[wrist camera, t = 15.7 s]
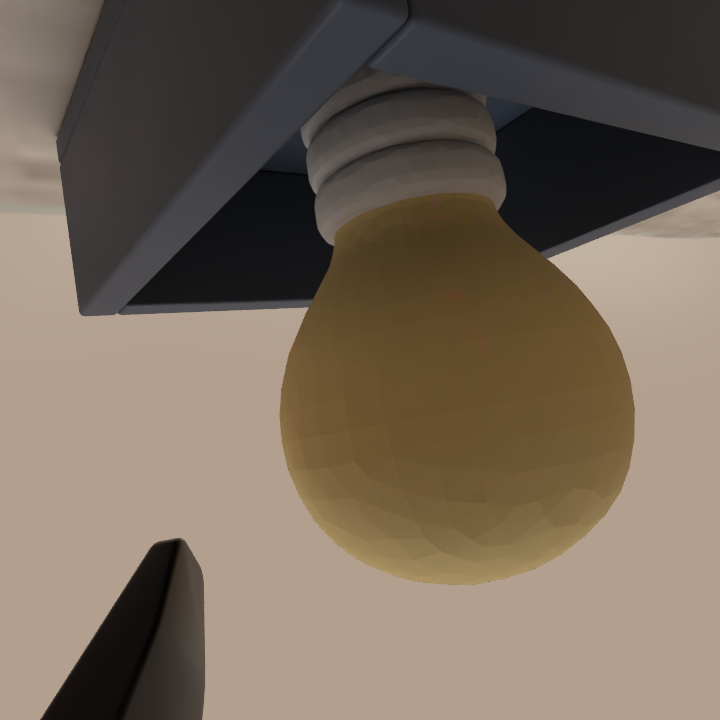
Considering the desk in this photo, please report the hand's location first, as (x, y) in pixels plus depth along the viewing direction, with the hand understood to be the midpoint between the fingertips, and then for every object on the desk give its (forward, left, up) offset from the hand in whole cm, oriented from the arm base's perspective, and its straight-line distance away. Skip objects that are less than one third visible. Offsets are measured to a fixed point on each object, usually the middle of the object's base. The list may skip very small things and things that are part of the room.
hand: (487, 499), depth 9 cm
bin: (+2, -1, -9) cm, 9 cm away
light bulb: (+2, -1, -8) cm, 9 cm away
